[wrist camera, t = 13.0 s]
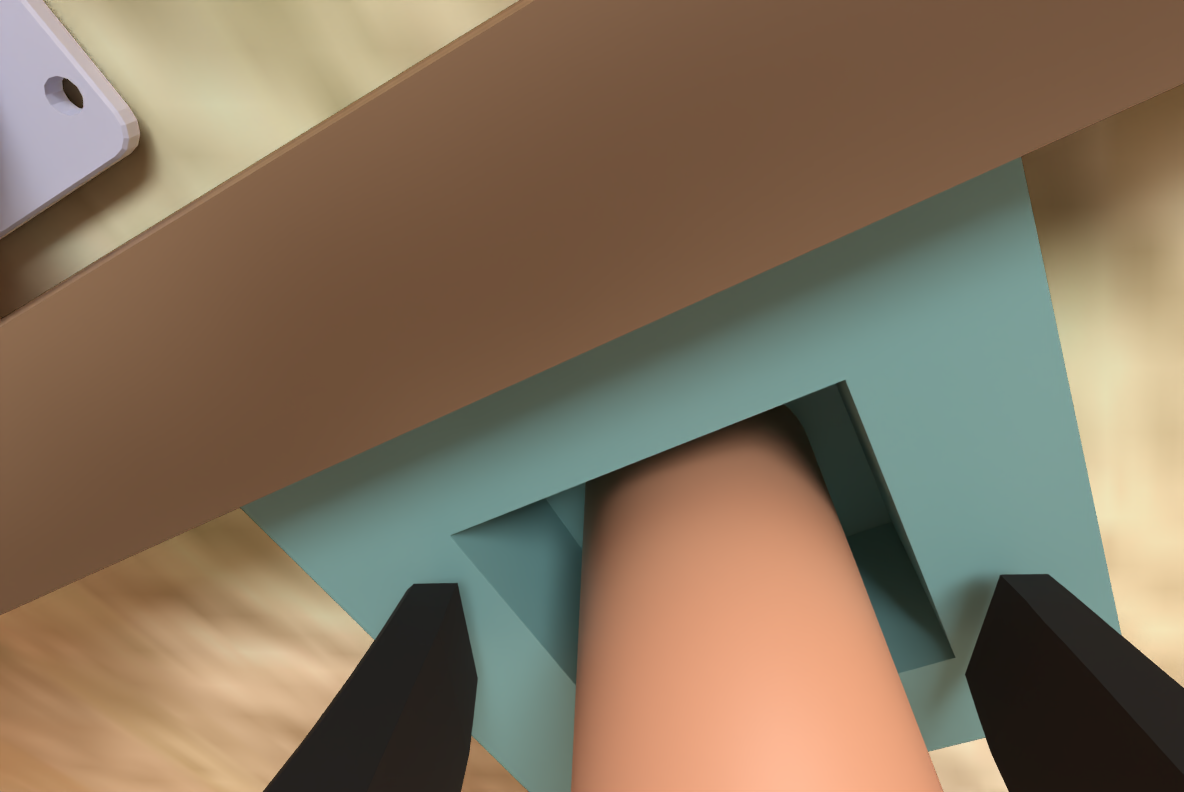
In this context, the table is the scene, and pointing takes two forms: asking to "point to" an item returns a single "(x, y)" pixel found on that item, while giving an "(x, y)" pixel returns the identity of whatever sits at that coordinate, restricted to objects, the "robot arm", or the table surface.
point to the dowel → (733, 630)
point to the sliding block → (723, 397)
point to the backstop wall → (509, 233)
